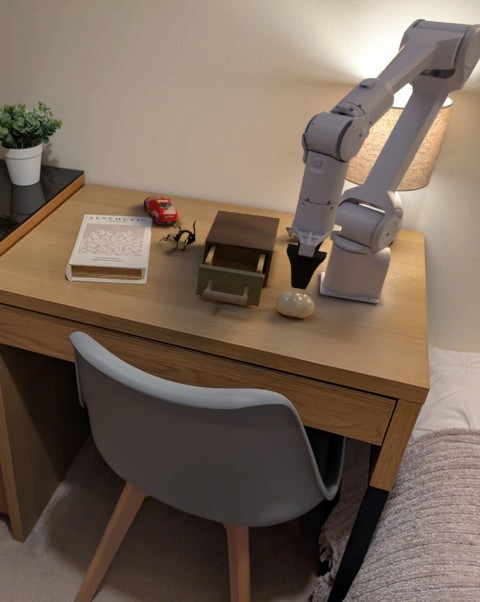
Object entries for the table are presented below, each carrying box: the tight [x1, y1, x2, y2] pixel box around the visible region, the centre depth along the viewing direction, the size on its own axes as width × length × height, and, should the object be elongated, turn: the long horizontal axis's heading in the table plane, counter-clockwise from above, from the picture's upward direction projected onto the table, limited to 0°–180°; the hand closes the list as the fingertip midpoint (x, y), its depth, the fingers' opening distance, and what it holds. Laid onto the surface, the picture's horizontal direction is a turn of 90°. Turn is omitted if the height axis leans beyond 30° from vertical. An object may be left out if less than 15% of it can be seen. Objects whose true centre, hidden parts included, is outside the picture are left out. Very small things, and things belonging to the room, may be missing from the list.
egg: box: [275, 291, 315, 319], centre depth 94 cm, size 6×4×4 cm, turn 69°
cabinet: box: [202, 209, 281, 287], centre depth 108 cm, size 14×12×7 cm
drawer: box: [195, 245, 266, 307], centre depth 99 cm, size 18×11×6 cm, turn 159°
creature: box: [158, 220, 197, 254], centre depth 115 cm, size 8×5×8 cm
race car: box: [143, 195, 179, 226], centre depth 129 cm, size 13×5×4 cm, turn 9°
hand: (301, 276), depth 91 cm, fingers open, 7 cm apart
